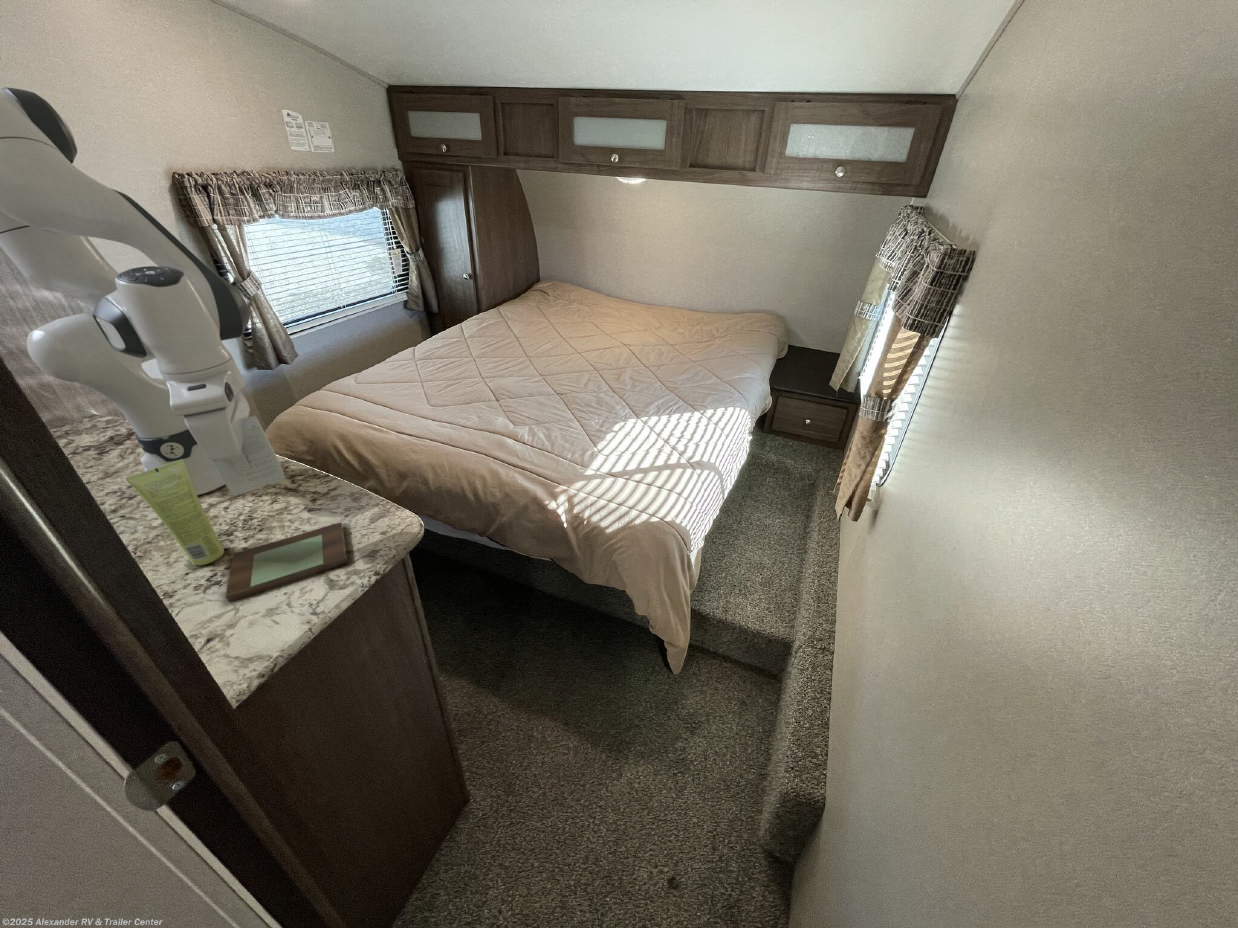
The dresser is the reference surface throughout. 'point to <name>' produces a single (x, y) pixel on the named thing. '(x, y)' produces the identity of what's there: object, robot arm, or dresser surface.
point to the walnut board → (286, 561)
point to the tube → (179, 510)
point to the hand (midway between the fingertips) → (246, 458)
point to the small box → (252, 462)
